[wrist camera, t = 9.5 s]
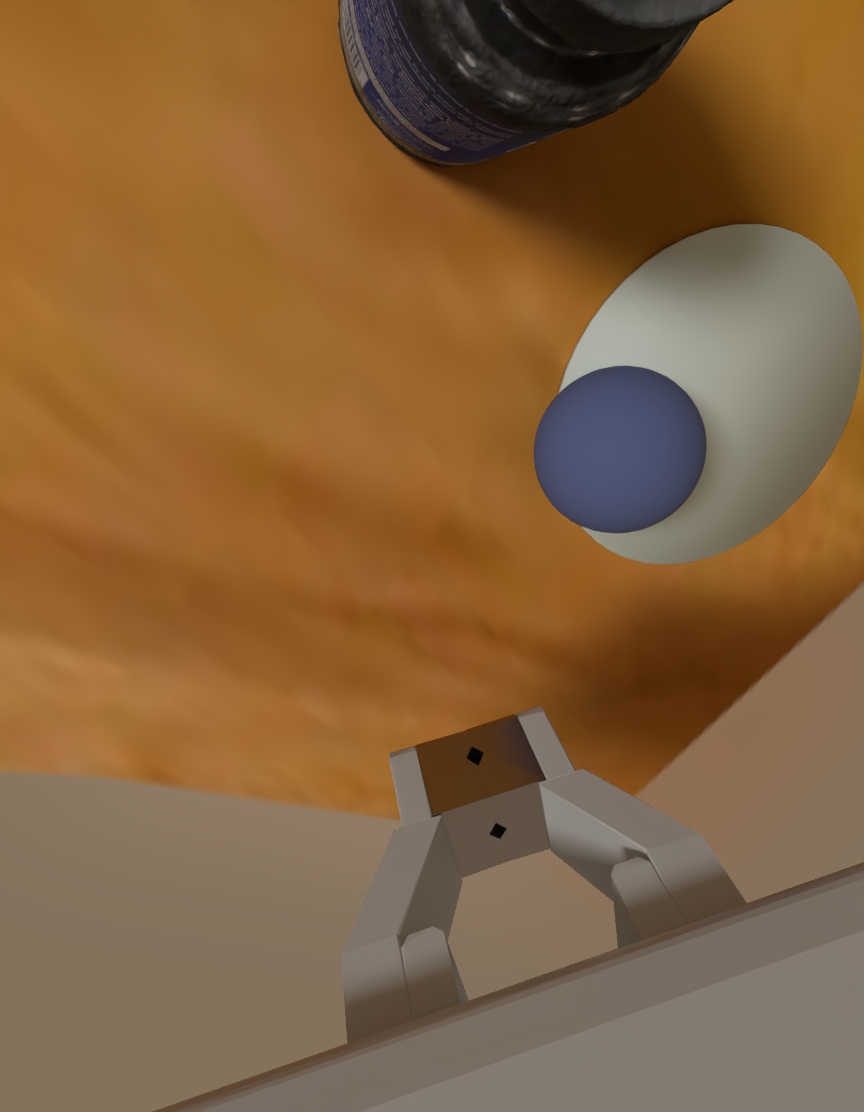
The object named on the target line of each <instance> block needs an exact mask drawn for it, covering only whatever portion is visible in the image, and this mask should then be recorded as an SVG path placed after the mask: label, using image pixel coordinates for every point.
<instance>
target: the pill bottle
mask: <svg viewBox="0 0 864 1112" xmlns="http://www.w3.org/2000/svg"><path fill="white" fill-rule="evenodd" d="M732 1H733V0H339V3H338V5H339V23H338V29H339V35H340V41H341V46H342V51H343V55H344V59H345V63H346V67H347V71H348V75H349V78H350V82H351V85H352V88H353V91H354V93H355V95H356V97H357V98H358V100H359V102H360V104H361V105H362V106H363V108H364V110H365V112H366V113H367V115H368V116H369V118H370V119H371V120H372V122H373V123H374V124H375V125H376V126H377V128H378V129H379V130H380V131H381V132H382V133H383V135H384V136H385V137H386V138H387V139H388V140H389V141H391V142H392V143H393V144H394V145H395V146H397V147H398V148H399V149H400V150H402V151H403V152H405V153H406V154H408V155H410V156H413V157H415V158H416V159H418V160H420V161H423V162H426V163H429V164H433V165H436V166H442V167H452V166H458V165H468V164H474V163H479V162H484V161H487V160H491V159H493V158H495V157H497V156H500V155H502V154H505V153H508V152H511V151H514V150H517V149H519V148H522V147H524V146H527V145H530V144H533V143H535V142H538V141H540V140H543V139H546V138H549V137H551V136H554V135H557V134H560V133H562V132H566V131H568V130H571V129H573V128H577V127H580V126H583V125H585V124H588V123H590V122H593V121H596V120H598V119H600V118H602V117H604V116H607V115H610V114H612V113H614V112H615V111H616V110H618V109H620V108H622V107H623V106H625V105H627V104H629V103H630V102H632V101H633V100H634V99H635V98H637V97H639V96H640V95H641V94H642V93H643V92H645V91H646V90H647V88H648V87H649V86H650V85H652V84H653V83H655V82H656V81H657V80H658V79H659V77H660V76H661V75H662V74H663V73H664V71H665V70H666V69H667V68H668V67H669V66H670V65H671V63H672V62H673V60H674V59H675V58H676V57H677V56H678V54H679V52H680V51H681V50H682V48H683V47H684V46H685V44H686V42H687V41H688V39H689V38H690V36H691V35H692V33H693V32H694V30H695V29H696V27H697V25H698V24H699V22H700V21H702V20H704V19H706V18H707V17H709V16H711V15H712V14H714V13H716V12H717V11H719V10H720V9H722V8H723V7H724V6H726V5H727V4H729V3H731V2H732Z"/></svg>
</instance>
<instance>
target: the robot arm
mask: <svg viewBox="0 0 864 1112" xmlns="http://www.w3.org/2000/svg"><path fill="white" fill-rule="evenodd" d="M389 761H390V766H391V771H392V776H393V782H394V787H395V792H396V797H397V802H398V807H399V812H400V818H401V823H402V828H399V829H396V830H394V833H393V835H392V838H391V840H390V842H389V844H388V847H387V849H386V851H385V854H384V856H383V858H382V861H381V863H380V865H379V868H378V870H377V872H376V875H375V877H374V879H373V882H372V884H371V887H370V889H369V891H368V893H367V896H366V898H365V900H364V902H363V905H362V907H361V909H360V912H359V914H358V917H357V919H356V921H355V923H354V926H353V928H352V930H351V933H350V935H349V937H348V940H347V942H346V944H345V947H344V949H343V951H342V954H341V961H342V974H343V988H344V1001H345V1013H346V1014H345V1016H346V1029H347V1041H348V1042H347V1044H344V1045H341V1046H338V1047H336V1048H333V1049H330V1050H327V1051H324V1052H322V1053H318V1054H316V1055H313V1056H310V1057H307V1058H304V1059H302V1060H298V1061H296V1062H293V1063H290V1064H287V1065H284V1066H281V1067H279V1068H276V1069H273V1070H270V1071H267V1072H264V1073H261V1074H259V1075H256V1076H253V1077H250V1078H248V1079H244V1080H241V1081H239V1082H236V1083H233V1084H230V1085H227V1086H224V1087H222V1088H219V1089H216V1090H213V1091H210V1092H207V1093H204V1094H201V1095H199V1096H196V1097H193V1098H190V1099H187V1100H185V1101H181V1102H179V1103H176V1104H173V1105H170V1106H167V1107H164V1108H162V1109H159V1110H156V1111H153V1112H864V862H863V863H860V864H858V865H855V866H852V867H849V868H846V869H843V870H840V871H838V872H835V873H832V874H829V875H826V876H824V877H820V878H818V879H815V880H812V881H809V882H806V883H803V884H800V885H798V886H795V887H792V888H789V889H786V890H783V891H780V892H778V893H775V894H772V895H769V896H766V897H763V898H760V899H758V900H755V901H752V902H749V903H746V901H745V900H744V898H743V897H742V895H741V894H740V892H739V891H738V889H737V888H736V886H735V885H734V883H733V882H732V880H731V879H730V877H729V876H728V874H727V873H726V871H725V870H724V868H723V867H722V865H721V864H720V862H719V861H718V860H717V858H716V856H715V855H714V853H713V852H712V851H711V849H710V848H709V846H708V845H707V843H706V842H705V840H704V839H703V837H702V836H701V834H699V833H698V832H696V831H694V830H692V829H690V828H689V827H687V826H685V825H683V824H682V823H680V822H678V821H676V820H675V819H673V818H671V817H669V816H667V815H666V814H664V813H662V812H660V811H659V810H657V809H655V808H653V807H651V806H650V805H648V804H646V803H644V802H643V801H641V800H639V799H637V798H636V797H634V796H632V795H630V794H628V793H627V792H625V791H623V790H621V789H620V788H618V787H616V786H614V785H612V784H611V783H609V782H607V781H605V780H604V779H602V778H600V777H598V776H596V775H595V774H593V773H591V772H589V771H588V770H586V769H584V768H583V769H580V770H576V769H575V767H574V766H573V764H572V762H571V760H570V758H569V756H568V754H567V752H566V750H565V749H564V747H563V745H562V743H561V741H560V739H559V737H558V735H557V734H556V732H555V730H554V728H553V726H552V724H551V722H550V720H549V718H548V717H547V715H546V713H545V711H544V709H543V708H542V707H540V706H538V707H535V708H532V709H529V710H526V711H523V712H519V713H516V714H515V715H514V714H513V715H510V716H507V717H504V718H501V719H498V720H494V721H491V722H488V723H485V724H482V725H479V726H476V727H473V728H470V729H467V730H465V731H463V732H459V733H456V734H452V735H449V736H445V737H442V738H438V739H435V740H431V741H428V742H424V743H421V744H417V745H416V746H412V747H409V748H405V749H402V750H398V751H395V752H392V753H389ZM550 848H551V851H552V852H553V853H554V854H556V855H557V856H558V857H559V858H560V859H562V860H563V861H564V862H565V863H567V864H568V865H569V866H570V867H572V868H573V869H574V870H575V871H577V872H578V873H579V874H580V875H581V876H583V877H584V878H585V879H586V880H587V881H589V882H590V883H591V884H592V885H594V886H595V887H596V888H597V889H599V890H600V891H601V892H602V893H603V894H605V895H606V896H607V897H608V898H610V899H611V900H612V901H613V902H614V911H615V922H616V932H617V943H618V949H615V950H612V951H609V952H606V953H603V954H601V955H598V956H595V957H592V958H589V959H587V960H583V961H581V962H578V963H575V964H572V965H569V966H566V967H564V968H561V969H558V970H555V971H552V972H549V973H547V974H544V975H541V976H538V977H535V978H532V979H529V980H527V981H524V982H521V983H518V984H515V985H513V986H509V987H507V988H504V989H501V990H498V991H495V992H492V993H490V994H487V995H484V996H481V997H478V998H475V999H473V1000H470V1001H469V1000H468V997H467V994H466V991H465V989H464V986H463V983H462V980H461V978H460V975H459V972H458V969H457V967H456V964H455V961H454V959H453V956H452V953H451V950H450V948H449V945H448V942H447V941H448V937H449V933H450V929H451V925H452V921H453V917H454V913H455V909H456V905H457V901H458V897H459V893H460V889H461V885H462V878H463V877H466V876H469V875H472V874H474V873H477V872H480V871H482V870H485V869H488V868H490V867H493V866H496V865H499V864H502V863H504V862H505V861H506V862H507V861H510V860H514V859H517V858H520V857H523V856H527V855H530V854H534V853H537V852H540V851H544V850H547V849H550Z"/></svg>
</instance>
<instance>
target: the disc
mask: <svg viewBox="0 0 864 1112" xmlns="http://www.w3.org/2000/svg"><path fill="white" fill-rule="evenodd" d="M861 362H862V328H861V323H860V317H859V312H858V307H857V304H856V301H855V298H854V295H853V292H852V289H851V287H850V285H849V283H848V281H847V280H846V278H845V276H844V274H843V272H842V271H841V269H840V268H839V267H838V265H837V264H836V263H835V262H834V260H833V259H832V258H831V256H829V255H828V254H827V253H826V252H825V251H824V250H823V249H821V248H820V247H819V246H818V245H817V244H816V243H814V242H812V241H811V240H809V239H807V238H806V237H804V236H802V235H800V234H798V233H796V232H793V231H790V230H787V229H784V228H781V227H776V226H770V225H763V224H733V225H728V226H723V227H717V228H712V229H709V230H706V231H703V232H700V233H697V234H694V235H691V236H688V237H686V238H684V239H682V240H680V241H678V242H676V243H674V244H672V245H670V246H668V247H666V248H665V249H663V250H662V251H660V252H659V253H657V254H656V255H654V256H653V257H651V258H650V259H648V260H647V261H645V262H644V263H643V264H642V265H641V266H639V267H638V268H637V269H636V270H635V271H634V272H632V273H631V274H630V275H629V276H628V277H627V278H625V279H624V280H623V281H622V282H621V284H620V285H619V286H618V287H617V288H616V289H615V290H614V291H613V292H612V293H611V294H610V295H609V297H608V298H607V299H606V300H605V301H604V302H603V304H602V305H601V307H600V308H599V309H598V311H597V312H596V313H595V315H594V316H593V317H592V319H591V320H590V322H589V323H588V325H587V327H586V328H585V330H584V332H583V334H582V335H581V337H580V339H579V340H578V342H577V344H576V346H575V348H574V350H573V353H572V355H571V357H570V359H569V362H568V364H567V366H566V368H565V372H564V375H563V378H562V381H561V384H560V387H559V391H558V394H559V393H560V392H561V391H562V390H563V389H564V388H565V387H566V386H568V385H569V384H570V383H572V382H573V381H575V380H576V379H578V378H580V377H582V376H584V375H586V374H588V373H590V372H592V371H595V370H598V369H602V368H607V367H613V366H635V367H643V368H646V369H650V370H653V371H655V372H658V373H660V374H662V375H664V376H667V377H668V378H670V379H671V380H673V381H674V382H675V383H677V384H678V385H679V386H680V387H681V388H682V389H683V390H684V391H686V393H687V394H688V395H689V396H690V398H691V399H692V400H693V402H694V404H695V405H696V407H697V409H698V411H699V413H700V415H701V417H702V420H703V423H704V427H705V433H706V447H707V448H706V459H705V463H704V468H703V471H702V474H701V477H700V479H699V481H698V483H697V485H696V487H695V489H694V490H693V492H692V493H691V495H690V496H689V497H688V499H687V500H686V501H685V503H684V504H683V505H682V506H681V507H680V508H679V509H678V510H677V511H675V512H674V513H673V514H672V515H670V516H669V517H667V518H666V519H664V520H663V521H661V522H659V523H657V524H655V525H653V526H651V527H648V528H645V529H642V530H639V531H634V532H629V533H618V534H617V533H603V532H598V531H593V530H591V529H588V528H585V527H582V526H581V527H582V528H583V529H584V530H585V531H586V532H587V533H588V534H589V535H590V536H591V537H592V538H593V539H594V540H595V541H597V542H598V543H599V544H601V545H602V546H604V547H605V548H607V549H608V550H610V551H612V552H614V553H616V554H618V555H621V556H623V557H625V558H628V559H632V560H635V561H639V562H644V563H652V564H679V563H686V562H693V561H697V560H701V559H704V558H708V557H711V556H714V555H717V554H719V553H722V552H724V551H727V550H729V549H731V548H733V547H735V546H737V545H739V544H741V543H743V542H745V541H746V540H748V539H750V538H751V537H753V536H754V535H756V534H758V533H759V532H761V531H762V530H763V529H765V528H766V527H767V526H769V525H770V524H771V523H773V522H774V521H775V520H776V519H778V518H779V517H780V516H781V515H782V514H783V513H784V512H785V511H786V510H787V509H789V508H790V507H791V506H792V505H793V504H794V503H795V502H796V501H797V499H798V498H799V497H800V496H801V495H802V494H803V493H804V492H805V491H806V490H807V488H808V487H809V486H810V484H811V483H812V482H813V481H814V479H815V478H816V477H817V475H818V474H819V473H820V471H821V470H822V468H823V467H824V465H825V463H826V462H827V460H828V459H829V457H830V456H831V454H832V452H833V450H834V448H835V447H836V445H837V443H838V441H839V439H840V437H841V435H842V433H843V430H844V428H845V425H846V423H847V420H848V418H849V415H850V413H851V410H852V406H853V403H854V400H855V396H856V393H857V388H858V383H859V378H860V372H861Z"/></svg>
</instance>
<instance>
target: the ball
mask: <svg viewBox="0 0 864 1112" xmlns="http://www.w3.org/2000/svg"><path fill="white" fill-rule="evenodd" d="M706 448H707V447H706V433H705V427H704V423H703V420H702V417H701V415H700V413H699V411H698V409H697V407H696V405H695V404H694V402H693V400H692V399H691V398H690V396H689V395H688V394H687V393H686V391H684V390H683V389H682V388H681V387H680V386H679V385H678V384H677V383H675V382H674V381H673V380H671V379H670V378H668V377H667V376H664V375H662V374H660V373H658V372H655V371H653V370H650V369H646V368H643V367H635V366H613V367H607V368H602V369H598V370H595V371H592V372H590V373H588V374H586V375H584V376H582V377H580V378H578V379H576V380H575V381H573V382H572V383H570V384H569V385H568V386H566V387H565V388H564V389H563V390H562V391H561V392H560V393H559V394H558V395H557V396H556V397H555V398H554V400H553V401H552V402H551V404H550V405H549V406H548V408H547V409H546V411H545V413H544V415H543V417H542V419H541V421H540V424H539V426H538V430H537V433H536V437H535V444H534V462H535V469H536V474H537V478H538V480H539V483H540V485H541V488H542V489H543V491H544V493H545V495H546V496H547V498H548V499H549V501H550V502H551V503H552V505H553V506H554V507H555V508H556V509H557V510H558V511H559V512H560V513H561V514H563V515H564V516H565V517H567V518H568V519H569V520H571V521H572V522H574V523H576V524H578V525H580V526H582V527H585V528H588V529H591V530H593V531H598V532H603V533H617V534H618V533H629V532H634V531H639V530H642V529H645V528H648V527H651V526H653V525H655V524H657V523H659V522H661V521H663V520H664V519H666V518H667V517H669V516H670V515H672V514H673V513H674V512H675V511H677V510H678V509H679V508H680V507H681V506H682V505H683V504H684V503H685V501H686V500H687V499H688V497H689V496H690V495H691V493H692V492H693V490H694V489H695V487H696V485H697V483H698V481H699V479H700V477H701V474H702V471H703V468H704V463H705V459H706Z"/></svg>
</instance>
